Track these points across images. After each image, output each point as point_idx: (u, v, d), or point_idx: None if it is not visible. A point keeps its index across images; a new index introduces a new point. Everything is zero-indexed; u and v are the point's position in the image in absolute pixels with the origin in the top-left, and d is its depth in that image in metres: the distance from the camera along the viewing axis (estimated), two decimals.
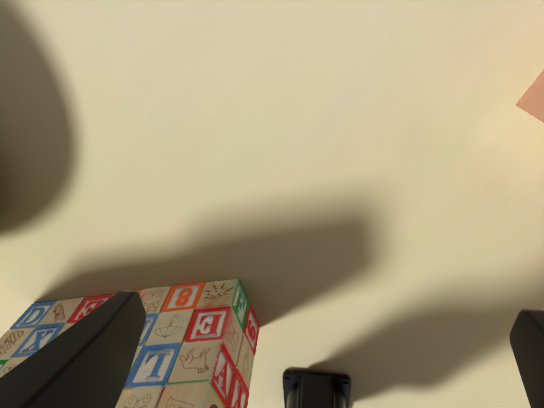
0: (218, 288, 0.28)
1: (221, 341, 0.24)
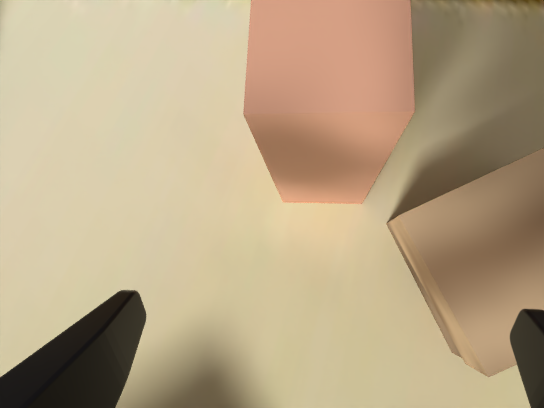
0: None
1: None
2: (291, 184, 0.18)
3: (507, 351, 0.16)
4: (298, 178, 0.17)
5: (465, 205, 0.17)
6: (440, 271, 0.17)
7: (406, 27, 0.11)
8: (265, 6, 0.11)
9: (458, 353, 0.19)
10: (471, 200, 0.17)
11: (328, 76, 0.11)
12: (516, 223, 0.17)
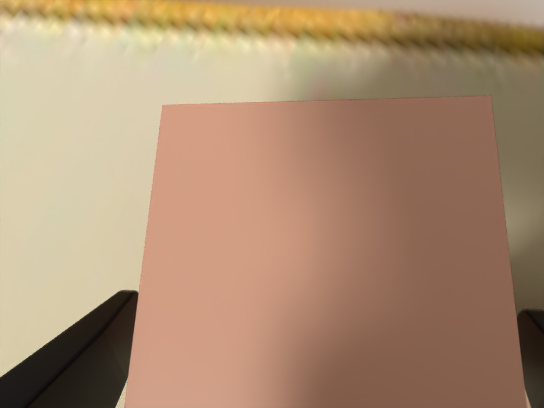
0: None
1: None
2: None
3: None
4: None
5: None
6: None
7: (496, 251, 0.05)
8: (183, 176, 0.05)
9: None
10: None
11: (317, 368, 0.04)
12: None
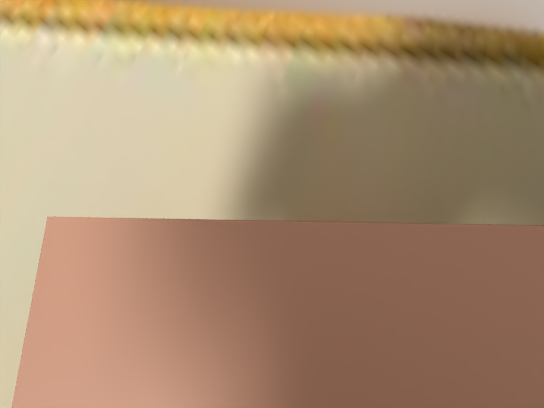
0: None
1: None
2: None
3: None
4: None
5: None
6: None
7: None
8: (73, 358, 0.03)
9: None
10: None
11: None
12: None
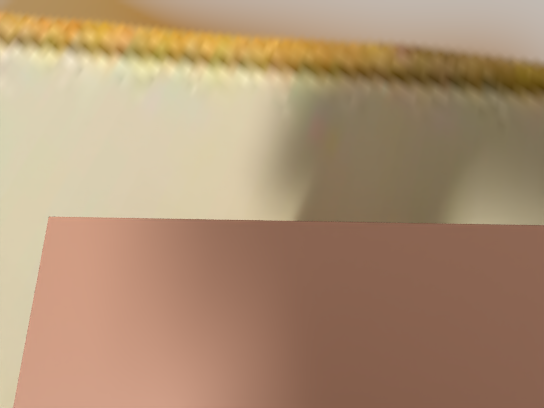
0: None
1: None
2: None
3: None
4: None
5: None
6: None
7: None
8: (74, 357, 0.03)
9: None
10: None
11: None
12: None
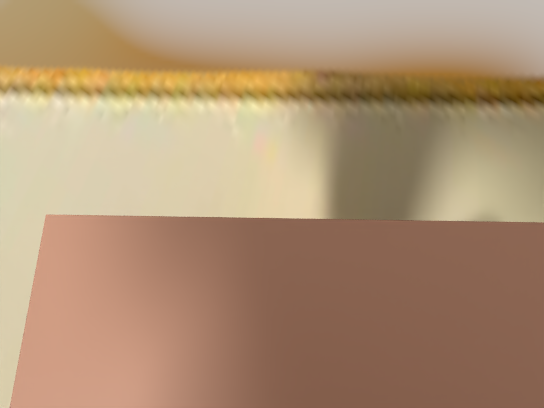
0: None
1: None
2: None
3: None
4: None
5: None
6: None
7: None
8: (71, 355, 0.03)
9: None
10: None
11: None
12: None
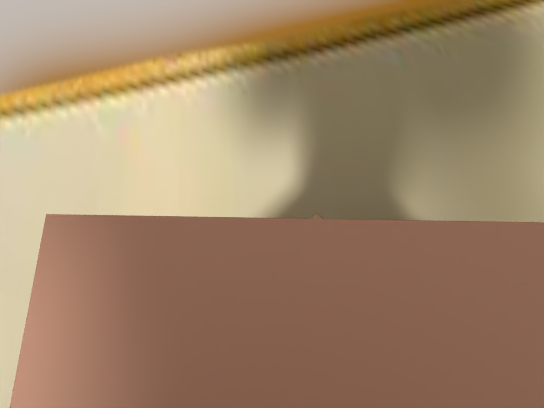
0: None
1: None
2: None
3: None
4: None
5: None
6: None
7: None
8: (71, 355, 0.03)
9: None
10: None
11: None
12: None
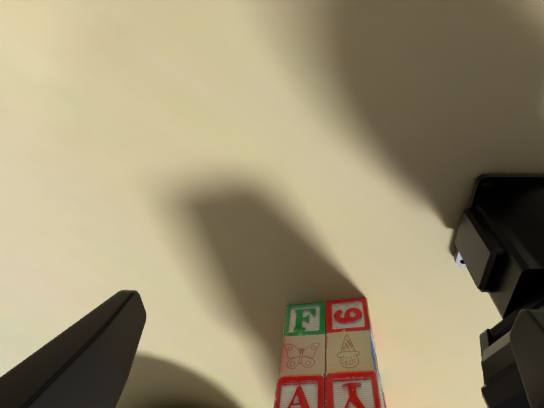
0: None
1: (278, 378, 0.22)
2: None
3: None
4: None
5: None
6: None
7: None
8: None
9: None
10: None
11: None
12: None
